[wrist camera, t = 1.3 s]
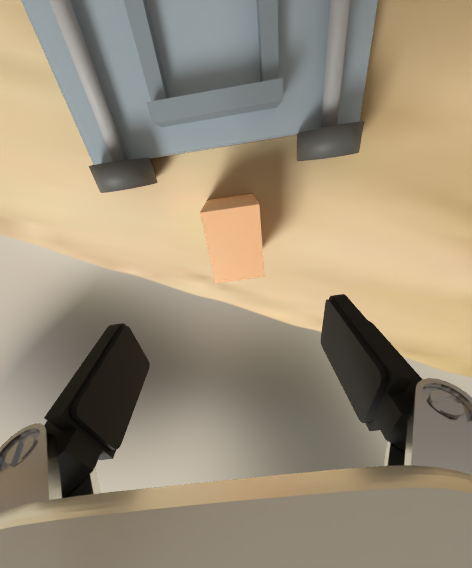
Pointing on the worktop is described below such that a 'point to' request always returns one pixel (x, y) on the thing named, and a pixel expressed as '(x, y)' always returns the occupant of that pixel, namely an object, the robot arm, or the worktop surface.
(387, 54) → the worktop surface
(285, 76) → the chassis
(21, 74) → the worktop surface
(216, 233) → the block
